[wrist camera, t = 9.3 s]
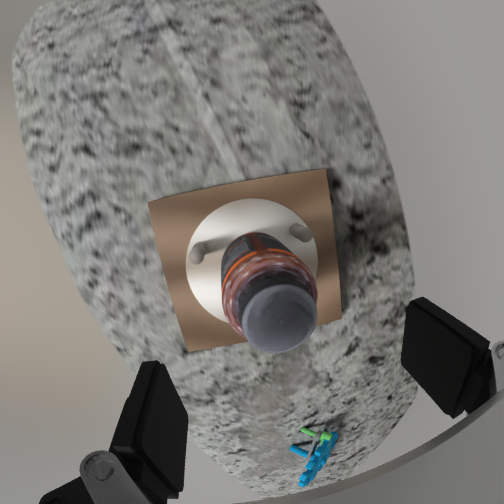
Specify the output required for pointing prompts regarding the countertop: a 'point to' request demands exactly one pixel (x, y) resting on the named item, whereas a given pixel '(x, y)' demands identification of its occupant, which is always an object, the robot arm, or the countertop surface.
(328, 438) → the gear
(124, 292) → the countertop surface
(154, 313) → the countertop surface
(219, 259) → the pin board
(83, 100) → the countertop surface
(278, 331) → the supplement bottle
